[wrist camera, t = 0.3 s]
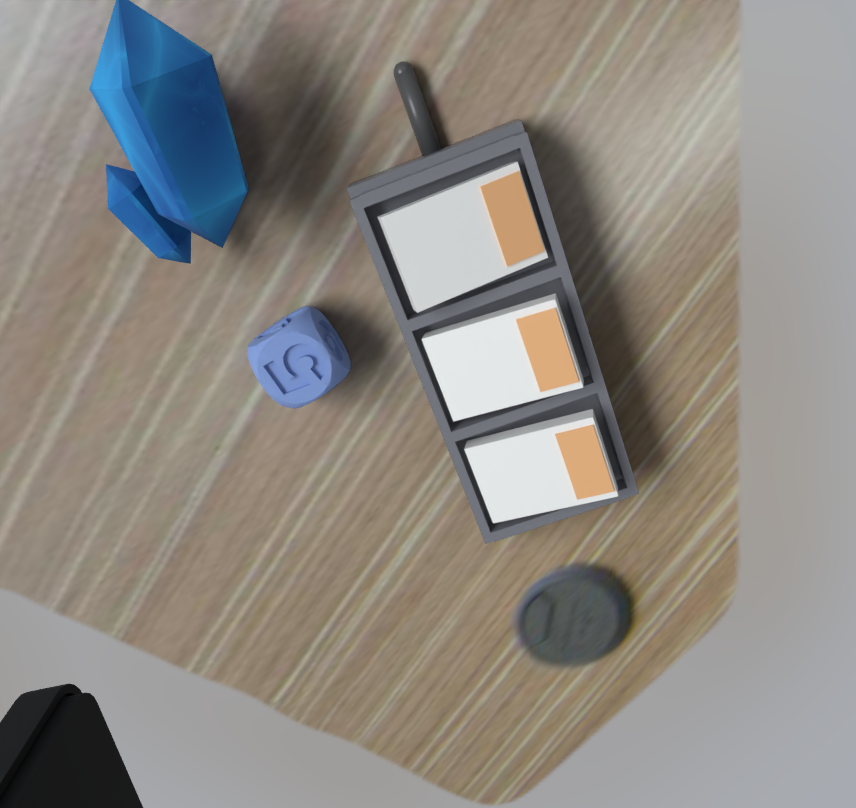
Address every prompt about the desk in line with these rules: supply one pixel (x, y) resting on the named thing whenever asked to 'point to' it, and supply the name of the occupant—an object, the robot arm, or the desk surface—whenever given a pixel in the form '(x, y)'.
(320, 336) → the decorative dice
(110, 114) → the crystal
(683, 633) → the desk surface
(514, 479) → the rocker
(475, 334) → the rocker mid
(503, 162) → the strip
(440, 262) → the rocker
